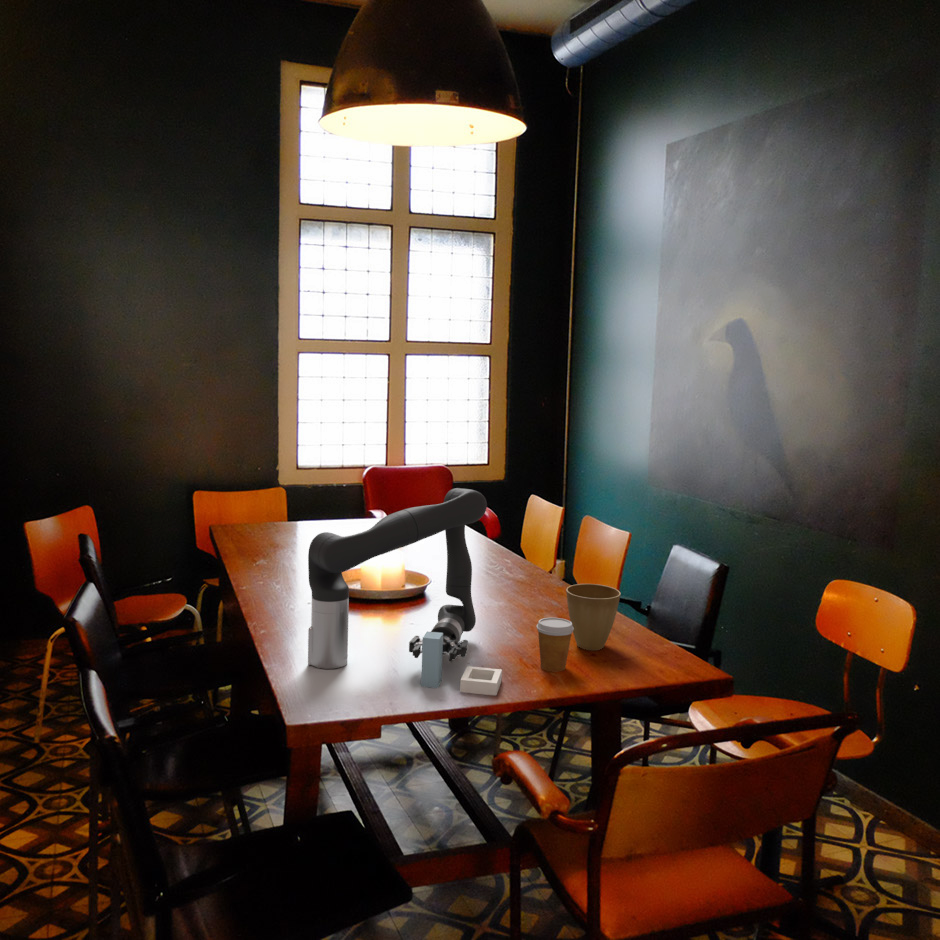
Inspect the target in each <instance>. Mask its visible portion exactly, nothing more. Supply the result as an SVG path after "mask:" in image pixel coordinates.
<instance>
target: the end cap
mask: <svg viewBox="0 0 940 940" xmlns="http://www.w3.org/2000/svg"><path fill="white" fill-rule="evenodd" d="M502 677H503V669H501V668H490V667H481V666H480V667H478V666H468V665H467V666H466V668H465V670H464V672H463V675H461V678H460V687H459V692H460V693H466V694H477V695H485V696H486V695H487V696H497V695H498V692H499V690H500V687H501V683H502Z"/></svg>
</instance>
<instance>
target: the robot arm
mask: <svg viewBox="0 0 940 940" xmlns="http://www.w3.org/2000/svg"><path fill="white" fill-rule="evenodd" d="M487 508H488V502H487V499H486V497H485V496H484V495H483V494H482V493H481V492H480V491H477V490H476V489H475V490H474V489H469V488H460V487H456V488H452V489H450V490H448V492H447V493H446V495H445V496H444V499H443V502H442V503H438V504H436V503H435V504H430V505H429V504H428V505H421V506H414V507H408V508H404V509H402V510H399V511H395V512H393V513H390V514H388V515H386V516H384V517H382V518H381V519H380V520H379V521H378V522H376V523H375V525H373V526H372V527H370V528H369V529H367V530H365V531H362V532H358V533H356V534H351V535H346V536H341V535H339V534H335V533H332V532H329V531H328V532H326V531H324V532H320V533H318V534H317V535H315V537H314V538H313V539H312V540H311V542H310V544H309V548H308V555H307V559H308V565H307V566H308V583H309V587H310V590H311V620H310V621H311V623H310V624H311V626H309V627H308V629H307V630H308V631H307V632H308V637H307V638H308V639H307V665H308V666H312V667H314V668H318V669H324V670H326V669H327V670H329V669H332V670H333V669H338V668H342V667H344V666H346V665H347V664H348V656H349V655H348V653H349V651H348V647H349V613H350V612H349V610H350V609H349V608H350V605H349V602H350V601H349V600H350V599H349V598H350V596H349V595H350V589H349V585H348V584H347V581H346V580H345V579H344V576H343V573H344V572H347V571H349V570H350V569H354V568H355V567H356V566H357V567H358V566H359V565H361V564H363V563H365V562H367V561H369V560H370V559H373V558H376V557H378V556H381V555H384V554H387V553H390V552H392V551H395V550H398V549H402V548H404V547H407V546H409V545H412V544H415V543H418V542H419V541H422V540H424V539H427V538H430V537H432V536H435V535H438V534H439V533H441V532H445V542H446V561H447V562H446V578H445V579H446V580H445V581H446V582H445V592H446V595H447V596H449V597H452V598H455V599H456V600H459V601H460V602H461V604H462V605H460V604H458V605H457V604H456V605H455V604H445V605H442V606H441V607H440V608H439V610H438V612H437V622H436V624H435V625H434V626H433V628H432V629H431V631H430V632H439V633H443V654H442V656H444V655H445V656H446V655H447V656H448V661H449V662H453V661H454V660H456V659H457V657H459V656H460V657H461V658H465V657H467V652H468V649H469V646H468V645H469V641H468V640H467V639H463V640H462V641H461V638H462V635H463V633H464V632H466V633H467V632H472V630H473V629H474V628H475V625H476V622H477V621H476V617H477V616H476V612H475V607H474V603H473V597H472V578H473V567H472V565H473V564H472V560H471V556H470V553H469V548H468V546H467V541H466V533H465V531H466V529H465V528H466V525H468V524H469V525H470V524H474V523H475V522H477V521H479V520H480V519H481V518H483V517H484V515H485V514H486V511H487ZM422 643H423V638H422V639H421V638H420V635H414V636H413V637H412V638H411V639H410V641H409V642H408V644H409V645H408V652H409V653H412V656H413V657H414V658H415V659H418V658H419V656H420V655H421V654H422Z"/></svg>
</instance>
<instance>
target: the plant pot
mask: <svg viewBox="0 0 940 940" xmlns="http://www.w3.org/2000/svg"><path fill="white" fill-rule="evenodd" d="M565 592H566V604H567V610H568V616H569V621H571V622H572V626H573V628H574V630H573V632H572V634H573V637H574V640H575V642H576V646H577V647H578V648H579V647H580V649H581V648H582V650H585V649H586V650H585V651H599V650H600V649H601V650H602V648H603V649H604V648H605V645H606V643H607V641H608V639H609V636H610V633H611V632H612V628H613V625H614V623H615V619H616V615H617V612H618V607H619V603H620V599H621V592H620V591H619V590H618V589H616V588H615V587H611V586H608V585H603V584H598V583H596V584H595V583H578V584H573V585H570V586H567V587H566V591H565Z"/></svg>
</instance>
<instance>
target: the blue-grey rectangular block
mask: <svg viewBox="0 0 940 940" xmlns="http://www.w3.org/2000/svg"><path fill="white" fill-rule="evenodd" d="M422 639H423V643H422V646H421V649H422V653H421V677H420V679H421V680H420V687H423V688H424V687H425V688H433V689H439V686H440V684H441V683H442V679H443V677H442V676H443V655H442V654H443V633H439V632H431V631H426V632H425V633H424V635H423V637H422Z"/></svg>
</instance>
